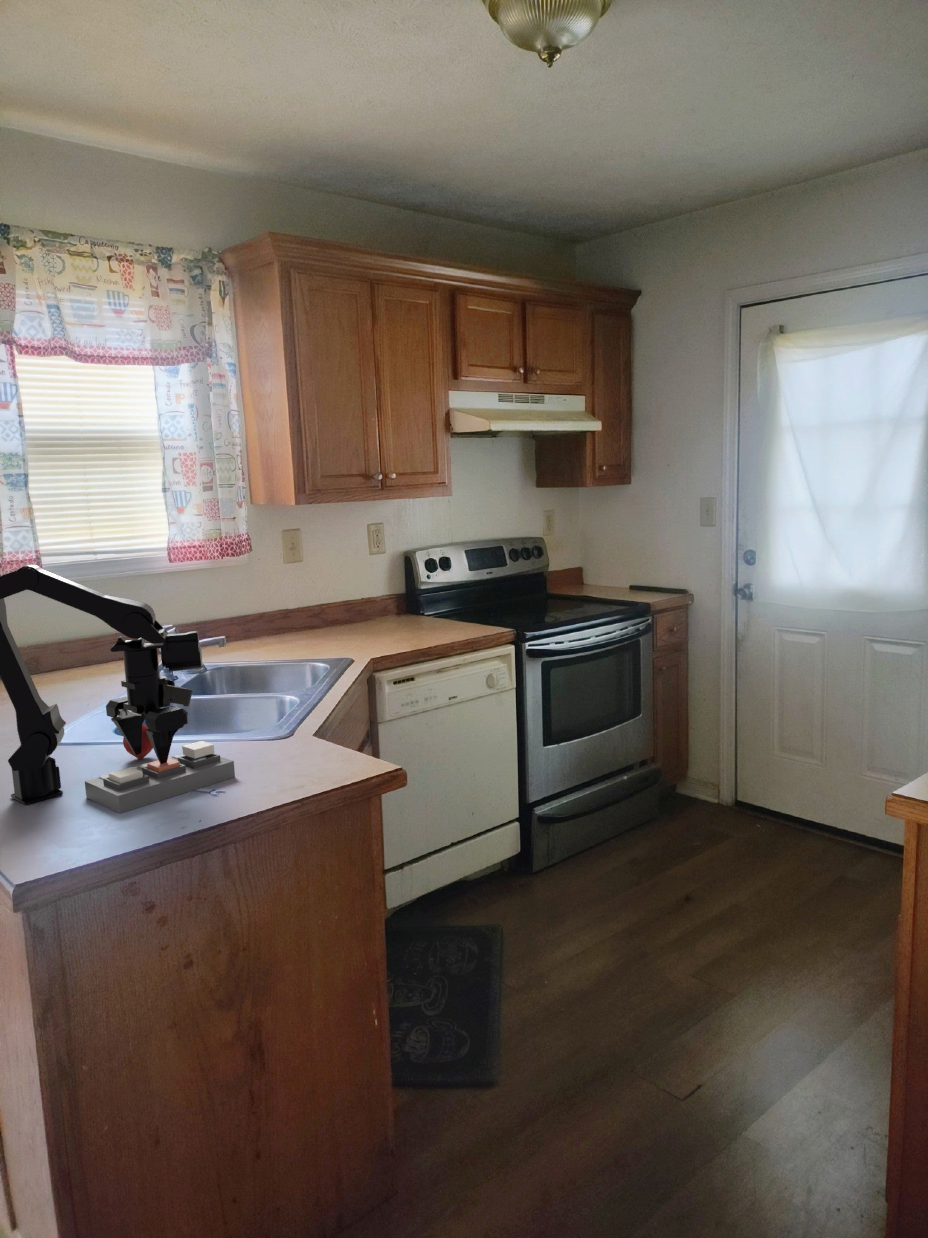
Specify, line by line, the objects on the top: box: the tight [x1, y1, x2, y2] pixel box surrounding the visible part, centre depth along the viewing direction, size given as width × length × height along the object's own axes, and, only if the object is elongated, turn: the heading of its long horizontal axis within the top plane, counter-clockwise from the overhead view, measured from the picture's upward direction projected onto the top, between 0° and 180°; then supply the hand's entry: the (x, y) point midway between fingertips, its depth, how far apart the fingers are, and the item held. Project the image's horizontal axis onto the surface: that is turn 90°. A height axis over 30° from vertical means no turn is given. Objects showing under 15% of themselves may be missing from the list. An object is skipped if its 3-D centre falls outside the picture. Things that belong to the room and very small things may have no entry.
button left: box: [108, 766, 143, 784], centre depth 147 cm, size 4×4×2 cm
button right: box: [181, 740, 215, 758], centre depth 157 cm, size 4×4×2 cm
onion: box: [122, 723, 154, 760], centre depth 169 cm, size 6×6×8 cm
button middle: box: [146, 757, 180, 773], centre depth 152 cm, size 4×4×2 cm
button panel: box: [84, 752, 236, 814], centre depth 153 cm, size 22×12×4 cm, turn 138°
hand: (150, 758), depth 155 cm, fingers open, 9 cm apart
